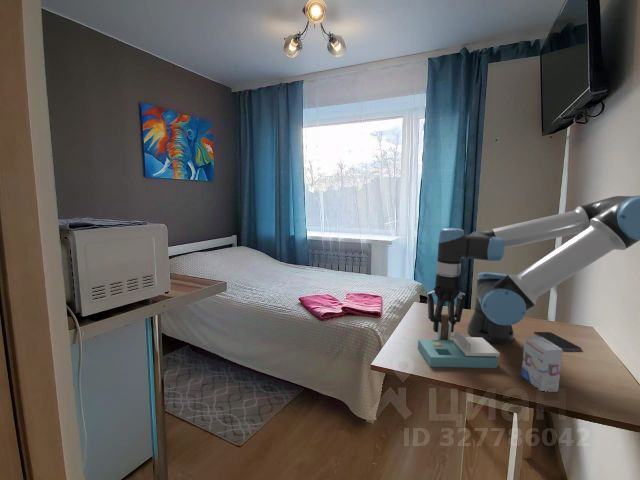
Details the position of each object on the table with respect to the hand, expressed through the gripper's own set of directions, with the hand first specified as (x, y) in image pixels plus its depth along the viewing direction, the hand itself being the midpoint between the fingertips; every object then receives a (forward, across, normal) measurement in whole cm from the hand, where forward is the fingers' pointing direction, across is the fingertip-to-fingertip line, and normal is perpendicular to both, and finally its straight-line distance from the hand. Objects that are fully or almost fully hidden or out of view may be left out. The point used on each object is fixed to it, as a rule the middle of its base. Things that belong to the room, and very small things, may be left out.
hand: (442, 340), depth 117 cm
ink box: (+1, -17, +25) cm, 30 cm away
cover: (-3, -6, +11) cm, 13 cm away
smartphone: (+1, -42, -3) cm, 42 cm away
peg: (+1, 0, 0) cm, 1 cm away
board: (+1, 0, +11) cm, 11 cm away
